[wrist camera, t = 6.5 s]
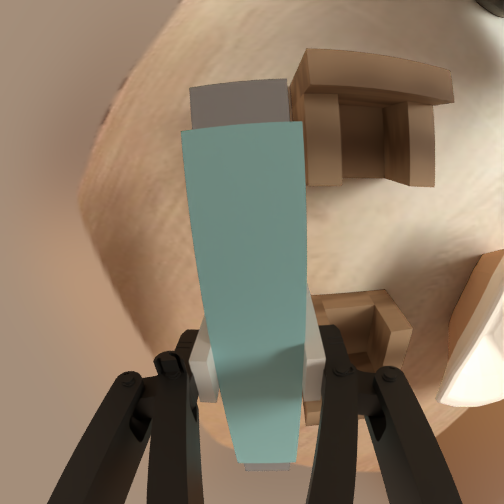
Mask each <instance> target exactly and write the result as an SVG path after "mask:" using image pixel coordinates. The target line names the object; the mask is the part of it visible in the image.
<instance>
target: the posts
mask: <svg viewBox="0 0 504 504" xmlns="http://www.w3.org/2000/svg"><path fill="white" fill-rule="evenodd" d="M290 91H291V103H292V116H293V121H302V125H303V141H304V159H305V183H306V184H307V185H308V186H342V178H386V179H389V180H392V181H395V182H398V183H401V184H405V185H408V186H417V187H434V185H435V134H434V116H433V106H434V105H440V104H446V103H453V102H454V95H453V86H452V79H451V73H450V70H447V69H443V68H440V67H436V66H432V65H428V64H424V63H420V62H415V61H411V60H406V59H401V58H396V57H390V56H384V55H378V54H370V53H363V52H354V51H343V50H330V49H308V48H307V49H306V51H305V53H304V55H303V58H302V60H301V62H300V64H299V66H298V69H297V71H296V73H295V76H294V78H293V80H292V82H291V85H290ZM311 299H312V303H313V307H314V311H315V315H316V319H317V323H318V325H332V324H334V325H335V326H336V327H337V328H338V329H339V330H340V332H341V335H342V338H343V341H344V344H345V347H346V350H347V353H348V356H349V360H350V362H351V363H352V364H353V365H354V366H355V367H356V369H357V370H360V371H363V372H369V373H376V371H377V370H378V369H379V368H380V367H383V366H394V367H397V368H399V369H400V370H401V368H402V365H403V362H404V358H405V355H406V352H407V349H408V345H409V342H410V338H411V334H412V331H413V328H412V326H411V325H410V323H409V322H408V320H407V319H406V318H405V316H404V315H403V313H402V312H401V311H400V309H399V308H398V306H397V305H396V304H395V302H394V301H393V300H392V298H391V297H390V296H389V294H388V293H387V292H386V290H374V291H363V292H352V293H339V294H326V295H311ZM302 397H303V388H302ZM303 405H304V414H305V423H306V426H312V425H319V421H320V412H321V405H322V396H321V399H320V400H317V401H305V402H304V398H303ZM364 418H365V417H364V415H358V419H364Z"/></svg>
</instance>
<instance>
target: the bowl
mask: <svg viewBox="0 0 504 504" xmlns="http://www.w3.org/2000/svg"><path fill="white" fill-rule="evenodd" d="M435 399H436V401H437V402H438V403H442V404H445V405H449V406H453V407H476V406H481V405H485V404H489V403H492V402H496V401H499V400H502V399H504V249H502V250H498V251H494V252H490V253H486V254H483V255H482V256H481V258H480V260H479V261H478V263H477V264H476V266H475V268H474V269H473V271H472V274H471V276H470V278H469V280H468V282H467V284H466V286H465V289H464V291H463V293H462V295H461V297H460V299H459V301H458V303H457V305H456V307H455V309H454V311H453V314H452V317H451V320H450V322H449V348H448V364H447V367H446V370H445V373H444V376H443V379H442V381H441V384H440V387H439V390H438V392H437V395H436V398H435Z"/></svg>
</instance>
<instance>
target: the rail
mask: <svg viewBox="0 0 504 504" xmlns="http://www.w3.org/2000/svg"><path fill="white" fill-rule="evenodd" d="M189 90H190V106H191V120H192V130H186V131H181V139H182V150H183V161H184V171H185V180H186V189H187V198H188V206H189V214H190V222H191V229H192V237H193V244H194V251H195V258H196V264H197V271H198V277H199V283H200V289H201V295H202V301H203V307H204V312H205V318H206V323H207V329H208V334H209V339H210V344H211V349H212V354H213V359H214V364H215V368H216V373H217V378H218V383H219V388H220V392H221V397H222V401H223V405H224V409H225V414H226V418H227V422H228V426H229V430H230V434H231V438H232V442H233V446H234V450H235V453H236V457H237V461H238V463H244V466H245V470H246V471H286V470H290V462H296V456H297V447H298V437H299V426H300V415H301V402H302V380H303V362H304V343H305V330H306V294H307V219H306V183H305V159H304V141H303V125H302V121H292V122H290V115H289V102H288V90H287V79H267V80H251V81H239V82H229V83H220V84H212V85H205V86H198V87H192V88H189Z"/></svg>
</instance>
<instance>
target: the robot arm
mask: <svg viewBox="0 0 504 504" xmlns="http://www.w3.org/2000/svg"><path fill="white" fill-rule="evenodd" d="M475 1H476V2H478V3H479V4H480V5H481V6H483V7H484V8H485V9H487V10H488V11H490V12H491V13H493V14H495V15H497V16H499V17H503V18H504V0H475ZM153 362H154V365H155V367H156V370H157V373H158V375H157V376H153V377H147V378H142V377H141V375H140V374H139V373H137V372H134V371H128V372H124V373H122V374H120V375H119V376H118V377H117V378H116V380H115V381H114V383H113V385H112V386H111V388H110V390H109V391H108V393H107V395H106V396H105V398H104V400H103V402H102V403H101V405H100V407H99V408H98V410H97V412H96V413H95V415H94V417H93V419H92V420H91V422H90V424H89V426H88V427H87V429H86V431H85V433H84V435H83V436H82V438H81V440H80V442H79V443H78V445H77V447H76V449H75V451H74V452H73V455H72V456H71V458H70V460H69V462H68V464H67V466H66V467H65V469H64V471H63V473H62V475H61V477H60V479H59V481H58V483H57V485H56V487H55V489H54V491H53V493H52V495H51V497H50V499H49V501H48V503H47V504H124V503H125V500H126V498H127V495H128V492H129V490H130V487H131V484H132V482H133V479H134V477H135V474H136V471H137V469H138V466H139V463H140V461H141V458H142V456H143V453H144V451H145V448H146V446H147V443H148V440H149V438H150V436H151V441H150V452H149V466H148V483H147V504H204V498H203V485H202V472H201V455H200V435H199V409H198V405H197V399H198V395H199V398H200V402H211V403H216V402H217V397H218V392H219V383H218V378H217V373H216V368H215V364H214V359H213V354H212V349H211V344H210V339H209V334H208V329H207V323H206V318H205V315H204V318H203V321H202V323H201V326H200V329H199V330H186V331H185V332H184V333H183V334H182V335H181V336H180V339H179V341H178V344H177V346H176V348H175V351H166V352H162V353H160V354H158V355H157V356H156V357H155V359H154V361H153ZM302 388H303V398H304V402H305V401H317V400H320V399H321V396H322V405H321V412H320V421H319V429H318V436H317V443H316V449H315V456H314V462H313V468H312V473H311V479H310V485H309V489H308V495H307V499H306V504H353V499H354V489H355V477H356V462H357V439H358V415H364V417H365V421H366V424H367V427H368V430H369V433H370V436H371V440H372V443H373V446H374V450H375V453H376V456H377V460H378V463H379V467H380V470H381V474H382V477H383V481H384V484H385V488H386V492H387V496H388V499H389V503H390V504H462V501H461V499H460V496H459V493H458V490H457V488H456V486H455V483H454V480H453V478H452V475H451V473H450V470H449V468H448V466H447V463H446V461H445V458H444V456H443V454H442V451H441V449H440V447H439V445H438V442H437V440H436V438H435V436H434V434H433V431H432V429H431V427H430V425H429V423H428V421H427V419H426V417H425V415H424V413H423V410H422V408H421V406H420V404H419V402H418V400H417V398H416V396H415V394H414V392H413V391H412V389H411V387H410V385H409V383H408V381H407V379H406V377H405V375H404V373H403V372H402V371H401V370H400V369H399V368H397V367H394V366H383V367H380V368H379V369H378V370H377V371H376V373H369V372H363V371H360V370H357V369H356V367H355V366H354V365H353V364H352V363H351V362H350V360H349V356H348V353H347V350H346V347H345V344H344V341H343V338H342V335H341V332H340V330H339V329H338V328H337V327H336V326H335V325H334V324H332V325H318V323H317V319H316V315H315V311H314V307H313V303H312V299H311V295H310V291H309V287H308V283H307V294H306V330H305V343H304V362H303V380H302Z"/></svg>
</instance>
